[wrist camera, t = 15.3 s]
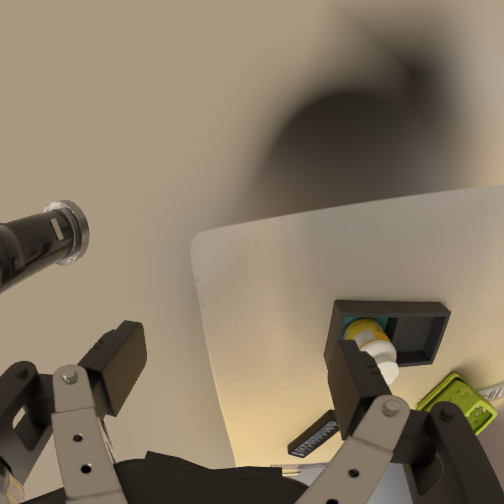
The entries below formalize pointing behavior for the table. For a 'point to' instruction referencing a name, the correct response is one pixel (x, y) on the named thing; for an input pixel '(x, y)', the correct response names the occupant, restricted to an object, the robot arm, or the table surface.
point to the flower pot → (461, 401)
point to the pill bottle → (374, 345)
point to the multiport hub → (315, 435)
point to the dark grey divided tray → (395, 327)
